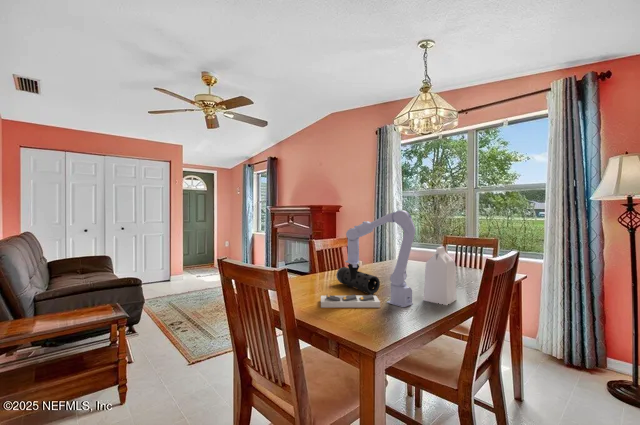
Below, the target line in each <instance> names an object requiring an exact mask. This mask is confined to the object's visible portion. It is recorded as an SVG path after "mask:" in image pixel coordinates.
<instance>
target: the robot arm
mask: <svg viewBox="0 0 640 425" xmlns="http://www.w3.org/2000/svg"><path fill="white" fill-rule="evenodd" d="M387 223H395V224H397V226H400V228H401V229H402V231H403V236H402V241H401V244H400V248H399V253H398V256H397V260H396V263H395V264H396V265H395V267H394V270H393V272H392V273H391V275H390V277H389V279H390V300H388V301H386V303H387V304H390V305H393V306H396V307H400V308H406V307H409V306H411V305H414V303H413V289H412V287H410V286H408V285H407V282H406V279H407V277H408V275H407V268H408V262H409V258H410V255H411V250H412V248H413V247H412V246H413V242H414V239H415V234H416V231H417V230H416V226H415V224H414V221H413V218H412V216H411V214H410V213H409V212H408V211H407V210H404V209H403V210H397V211H394V212H390V213H387V214H385V215H383V216H381V217H379V218H376V219H375V220H373V221H367V220H366V221H365V220H364V221H362V223H361V224H359V225H354V226H353V227H352V228H349V229H348V230H347V231H346V232H345V233H346V234H345V235H346V238H347V260H344V262H345V263H347V268H349V270H350V276H351V279H356V275H357V271H358V270H359V268H360V265H359V264H360V238H362V237H364V236H366V235H369V234H371V233H373V232H374V229H375V228H377V227H380V226H382V225H384V224H387Z"/></svg>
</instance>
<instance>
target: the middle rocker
mask: <svg viewBox="0 0 640 425" xmlns="http://www.w3.org/2000/svg"><path fill="white" fill-rule="evenodd" d="M346 296H347V297H343V300H344V301H351V300H355V299H357V298H356V296H357V295H356V294H351V295H346Z"/></svg>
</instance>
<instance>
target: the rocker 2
mask: <svg viewBox="0 0 640 425" xmlns="http://www.w3.org/2000/svg"><path fill="white" fill-rule="evenodd" d="M363 296H364V297H360V300H361V301H368V300H372V299H374V297H373V296H374V294H373V295H372V294H368V295H363Z"/></svg>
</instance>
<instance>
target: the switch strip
mask: <svg viewBox="0 0 640 425" xmlns="http://www.w3.org/2000/svg"><path fill="white" fill-rule="evenodd" d="M334 296H335V297H339V301H332V300H329V299H326V295H320V308H381V300H380V299H379V298H378V296H377V295H373V297H374V299H372V300H368V301H361V300H360V297H364V296H365V295H356V298H357V299H355V300H351V301H344V300H343V297H347V296H348V295H334Z"/></svg>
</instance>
